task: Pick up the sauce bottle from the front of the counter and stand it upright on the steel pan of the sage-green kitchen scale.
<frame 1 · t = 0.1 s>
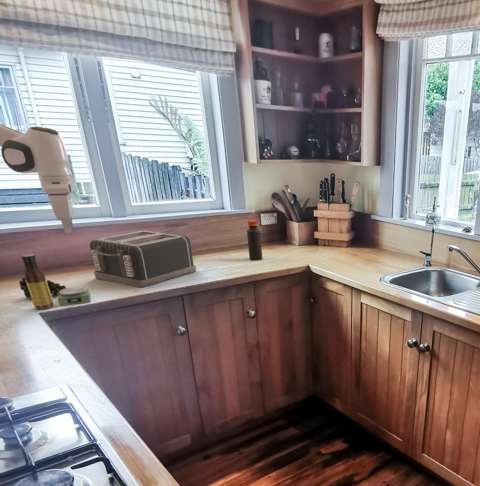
hand: (69, 230, 151), 31 cm above the worktop, tool pointing down, fingers open, 8 cm apart
fruit: (45, 297, 185), on the worktop
scale: (76, 300, 182), on the worktop
scale pan: (73, 291, 181), point 4 cm above the worktop, slide at 0.0 cm
sauce bottle: (44, 307, 174), on the worktop
vinegar: (256, 259, 250), on the worktop
toaster: (143, 276, 215), on the worktop
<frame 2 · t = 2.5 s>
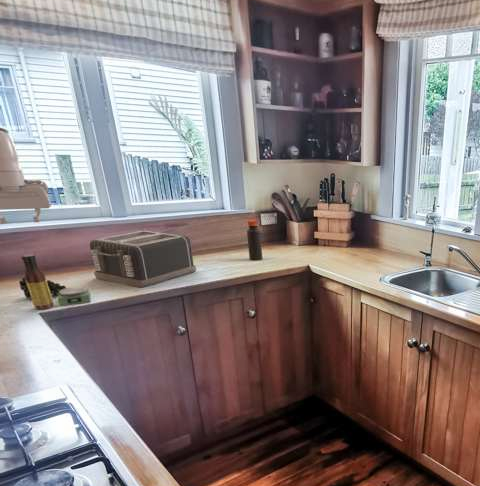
hand: (20, 222, 160), 31 cm above the worktop, tool pointing down, fingers open, 8 cm apart
nothing on the worktop moved.
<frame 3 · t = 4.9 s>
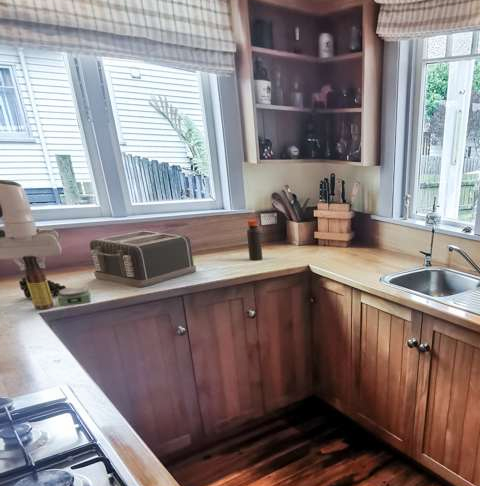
hand: (33, 269, 168), 15 cm above the worktop, tool pointing down, fingers closed on sauce bottle, 4 cm apart
sauce bottle: (44, 307, 174), on the worktop, touching gripper
everything else where it was.
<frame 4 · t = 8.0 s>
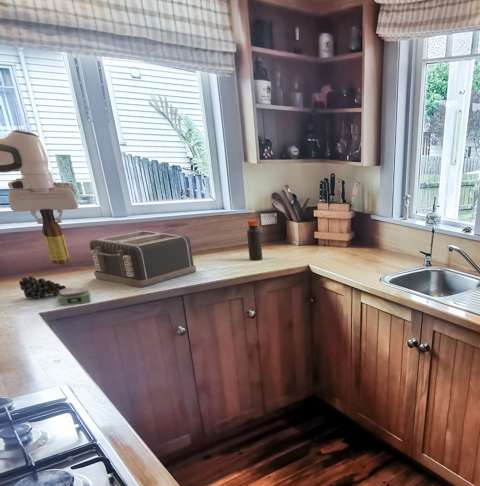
hand: (49, 223, 168), 30 cm above the worktop, tool pointing down, fingers closed on sauce bottle, 4 cm apart
sauce bottle: (61, 263, 175), point 15 cm above the worktop, touching gripper
everything else where it was.
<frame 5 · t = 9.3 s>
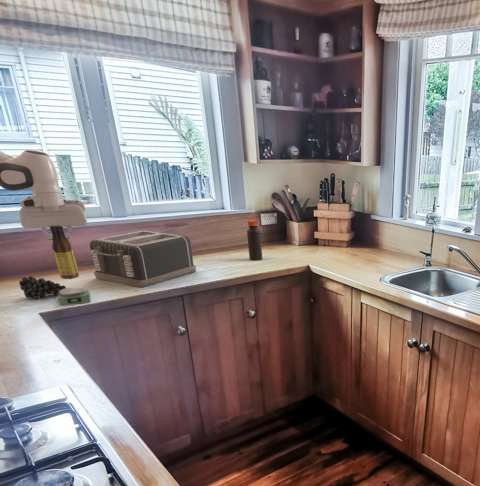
hand: (59, 239, 172), 24 cm above the worktop, tool pointing down, fingers closed on sauce bottle, 4 cm apart
sauce bottle: (70, 278, 179), point 9 cm above the worktop, touching gripper
everything else where it was.
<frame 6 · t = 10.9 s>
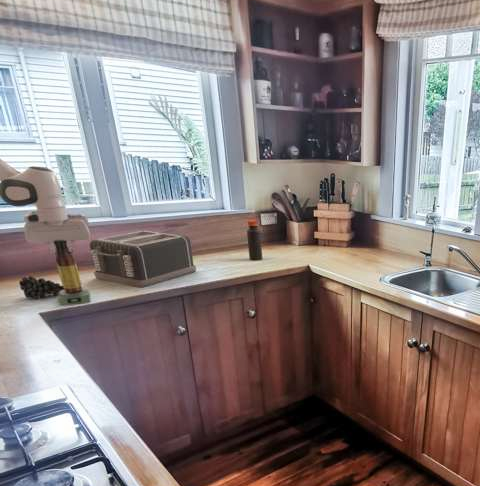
hand: (63, 253, 174), 19 cm above the worktop, tool pointing down, fingers closed on sauce bottle, 4 cm apart
scale pan: (73, 291, 181), point 3 cm above the worktop, slide at -0.2 cm, touching sauce bottle
sauce bottle: (73, 291, 181), point 4 cm above the worktop, touching gripper, scale pan
everything else where it was.
when the fingers open (19 cm above the worktop, at t = 11.0 s): sauce bottle stays where it is, resting on scale pan.
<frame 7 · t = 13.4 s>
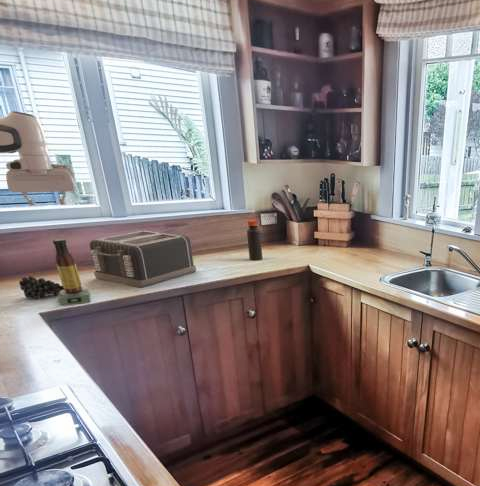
hand: (47, 204, 170), 35 cm above the worktop, tool pointing down, fingers open, 8 cm apart
sauce bottle: (73, 291, 181), point 4 cm above the worktop, touching scale pan
everything else where it was.
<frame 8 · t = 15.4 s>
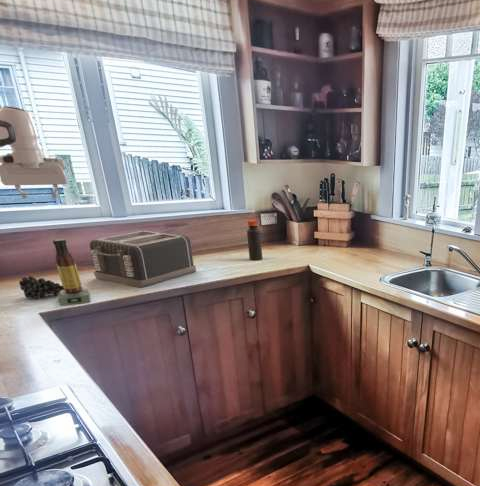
hand: (40, 197, 174), 37 cm above the worktop, tool pointing down, fingers open, 8 cm apart
nothing on the worktop moved.
at the end: sauce bottle 0.1 cm off-centre on the scale, point 3.6 cm above the scale's base; sauce bottle tilted 0°; the gripper is holding nothing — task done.
